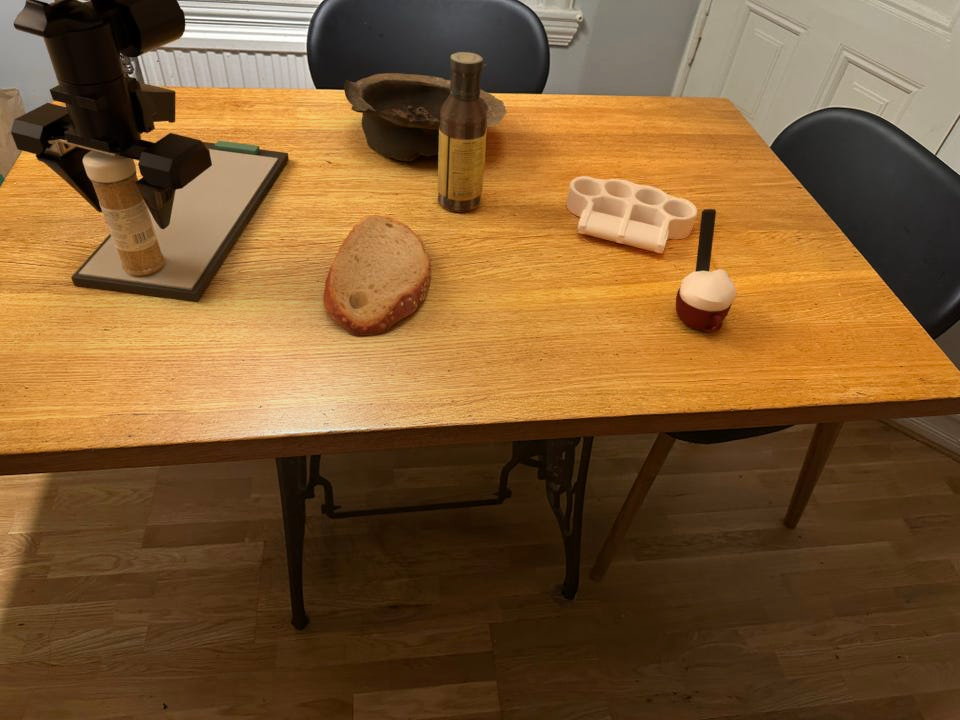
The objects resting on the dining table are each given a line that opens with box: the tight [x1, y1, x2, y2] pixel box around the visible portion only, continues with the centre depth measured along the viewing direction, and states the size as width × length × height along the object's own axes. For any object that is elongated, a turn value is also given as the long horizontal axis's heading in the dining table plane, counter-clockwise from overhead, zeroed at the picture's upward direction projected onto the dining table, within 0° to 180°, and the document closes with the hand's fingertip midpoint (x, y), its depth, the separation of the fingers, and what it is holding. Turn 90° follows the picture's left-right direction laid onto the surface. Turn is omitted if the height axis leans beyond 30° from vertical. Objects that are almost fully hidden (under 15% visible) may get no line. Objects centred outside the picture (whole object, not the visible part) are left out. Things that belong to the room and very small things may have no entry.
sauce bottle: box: [437, 51, 488, 213], centre depth 91 cm, size 6×6×20 cm
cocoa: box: [675, 208, 738, 333], centre depth 79 cm, size 10×6×12 cm, turn 167°
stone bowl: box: [343, 72, 508, 162], centre depth 108 cm, size 25×25×9 cm
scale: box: [71, 140, 289, 303], centre depth 89 cm, size 34×14×2 cm, turn 175°
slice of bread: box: [322, 214, 432, 337], centre depth 82 cm, size 18×18×4 cm
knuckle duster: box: [565, 175, 698, 254], centre depth 97 cm, size 3×18×15 cm
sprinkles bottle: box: [83, 151, 165, 275], centre depth 74 cm, size 5×5×14 cm
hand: (133, 218), depth 75 cm, fingers open, 7 cm apart
